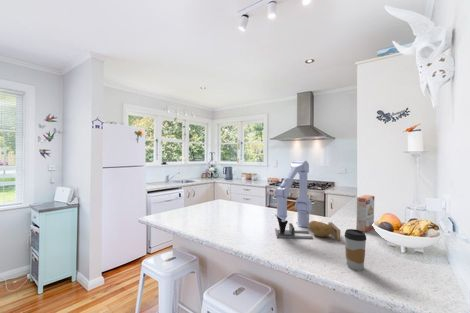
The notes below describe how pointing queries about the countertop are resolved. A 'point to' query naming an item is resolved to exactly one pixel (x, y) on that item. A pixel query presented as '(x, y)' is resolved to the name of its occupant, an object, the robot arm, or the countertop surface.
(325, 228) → the potato
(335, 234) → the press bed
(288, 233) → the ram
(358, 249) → the coffee cup
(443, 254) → the countertop surface
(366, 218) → the cracker box
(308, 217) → the robot arm
